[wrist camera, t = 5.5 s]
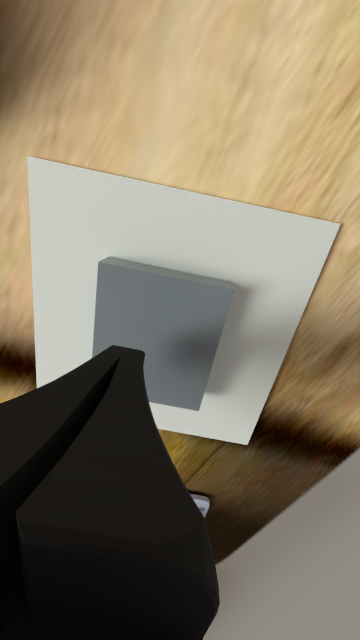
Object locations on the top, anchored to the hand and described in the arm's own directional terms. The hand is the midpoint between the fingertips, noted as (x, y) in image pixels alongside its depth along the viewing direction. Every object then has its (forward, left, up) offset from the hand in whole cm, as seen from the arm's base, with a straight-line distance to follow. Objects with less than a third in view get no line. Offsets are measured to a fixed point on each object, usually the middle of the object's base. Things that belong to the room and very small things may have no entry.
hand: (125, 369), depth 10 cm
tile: (0, +2, -3) cm, 4 cm away
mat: (0, -1, -4) cm, 4 cm away
